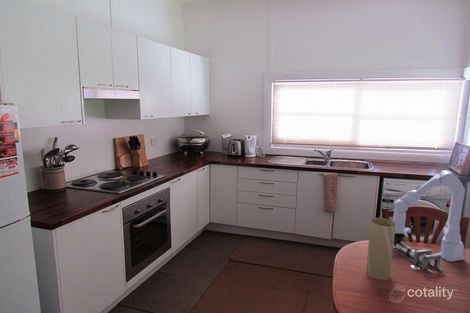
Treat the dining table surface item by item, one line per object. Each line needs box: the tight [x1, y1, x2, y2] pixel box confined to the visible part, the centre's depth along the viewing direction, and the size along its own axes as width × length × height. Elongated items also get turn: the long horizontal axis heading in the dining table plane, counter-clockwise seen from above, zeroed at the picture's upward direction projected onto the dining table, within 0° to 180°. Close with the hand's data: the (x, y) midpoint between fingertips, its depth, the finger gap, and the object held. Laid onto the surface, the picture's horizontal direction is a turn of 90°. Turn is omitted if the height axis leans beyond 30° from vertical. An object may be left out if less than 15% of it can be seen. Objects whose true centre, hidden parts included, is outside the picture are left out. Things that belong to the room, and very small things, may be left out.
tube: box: [365, 217, 396, 281], centre depth 143 cm, size 10×10×25 cm
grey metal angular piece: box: [393, 246, 444, 275], centre depth 157 cm, size 12×25×7 cm, turn 15°
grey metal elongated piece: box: [395, 241, 425, 264], centre depth 161 cm, size 16×4×4 cm, turn 16°
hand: (396, 245), depth 170 cm, fingers closed, pressing on grey metal elongated piece
